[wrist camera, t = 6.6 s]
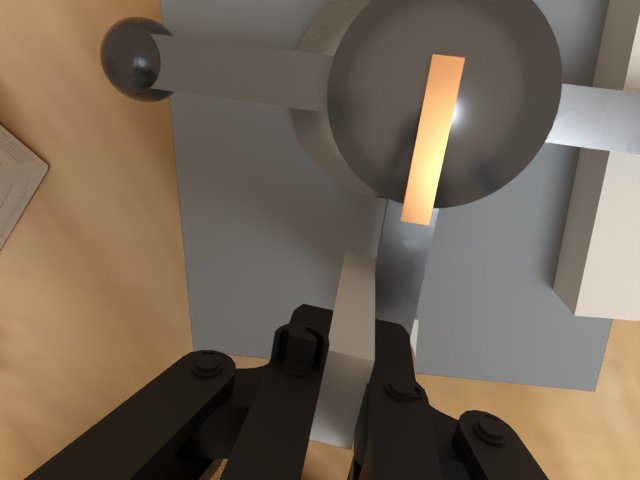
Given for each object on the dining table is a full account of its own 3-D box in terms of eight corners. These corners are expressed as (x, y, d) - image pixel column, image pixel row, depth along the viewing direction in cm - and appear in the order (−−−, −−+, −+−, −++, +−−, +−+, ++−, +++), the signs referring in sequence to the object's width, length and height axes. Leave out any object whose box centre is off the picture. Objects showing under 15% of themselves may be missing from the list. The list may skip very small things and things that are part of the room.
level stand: (594, 373, 21) (636, 430, 18) (204, 336, 24) (172, 378, 21) (747, -253, 14) (873, -378, 10) (159, -195, 17) (96, -276, 13)
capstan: (871, -242, 12) (1335, -572, 6) (614, 378, 19) (716, 504, 13) (171, -269, 15) (16, -527, 9) (167, 292, 22) (80, 367, 16)
